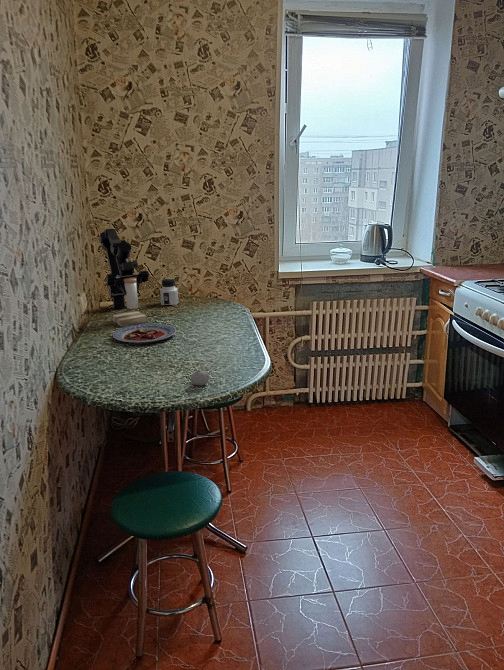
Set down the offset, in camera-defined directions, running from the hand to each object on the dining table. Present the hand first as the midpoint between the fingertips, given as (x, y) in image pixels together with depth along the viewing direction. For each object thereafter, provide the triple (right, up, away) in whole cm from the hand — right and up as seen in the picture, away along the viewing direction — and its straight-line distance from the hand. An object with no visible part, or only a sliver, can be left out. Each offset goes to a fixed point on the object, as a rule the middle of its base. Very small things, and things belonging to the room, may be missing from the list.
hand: (131, 293), depth 241 cm
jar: (0, -6, +3) cm, 7 cm away
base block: (-2, -13, +5) cm, 14 cm away
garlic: (+37, -35, -69) cm, 86 cm away
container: (+11, -3, +36) cm, 38 cm away
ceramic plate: (+9, -20, -18) cm, 28 cm away
